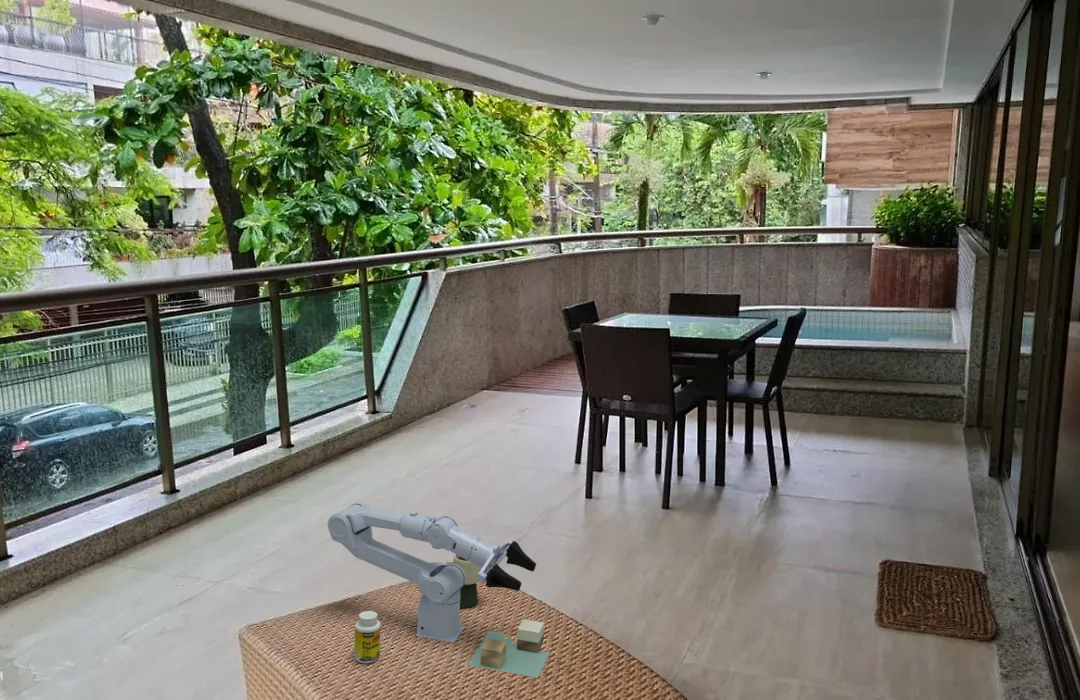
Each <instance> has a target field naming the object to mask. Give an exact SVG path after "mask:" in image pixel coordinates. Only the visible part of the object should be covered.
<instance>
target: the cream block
mask: <svg viewBox="0 0 1080 700" xmlns="http://www.w3.org/2000/svg"><path fill="white" fill-rule="evenodd" d="M543 633H545V622H542V621H537V620H529V619H522V621H521V623H520V625H519V627H518V628H517V635H516V636H517V639H519V640H524V641H530V642H536V643H539V641H540V639H541V637H542V635H543Z"/></svg>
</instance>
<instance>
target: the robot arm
mask: <svg viewBox="0 0 1080 700" xmlns="http://www.w3.org/2000/svg"><path fill="white" fill-rule="evenodd" d="M458 525H459V524H458V523H457V522H456V520H455V519H453V518H452V517H449V516H448V515H443V516H441V517H439V518H436V516H434V515H431V516H428V515H427V516H426V515H422V514H418V511H414V510H413V511H411V512H407V513H406V514H404V515H399V514H397V513H392V512H388V511H385V510H382V509H378V508H374V507H372V506H371V505H370V504H366V503H365V504H363V503H359V502H356V503H355V502H354V503H352V504H351V505H350V506H348V507H347V508H344V509H343V510H340V511H339V512H337V513H334V514H332V515H331V516H330V517H329V519H328V522H327V529H328V531H329V533H330V536H331V539H332V540H333V541H334V542H337V543H339V544H341V545H342V546H344V548H345V549H346V550H347V551H348V552H349V553H350V554H351V555H352V556H353V557H355V558H357V559H359V560H361V561H363V562H366V563H367V564H370V565H373V566H375V567H377V568H380V569H382V570H385V571H386V572H388V573H391V574H394V575H396V576H398V577H401V578H403V579H405V580H408V581H410V582H412V583H414V584H417V589H418V592H419V593H420V594H422V595H421V598H420V599H419V602H418V606H417V622H416V623H417V627H416V628H417V630H416V632H417V633H416V634H415V637H419V638H424V639H425V638H426V639H430V640H435V641H441V642H446V643H452V644H454V643H455V642H456V641H457V639H458V638H459V636H460V635H461V634H462V633H463V631H464V630H465V626H464V625H460V614H461V613H460V611H461V607H460V588H461V587H463V585H464V584H465V580H466V577H465V573H464V571H463V569H462V568H461V567H460V566H458V565H456V564H446V563H444V562H442V561H437V562H427V561H426V560H424V559H421V558H419V557H416V556H414V555H411V554H409V553H407V552H405V551H402V550H400V549H397V548H396V547H392V546H390V545H388V544H386V543H383V542H381V541H378V540H376V539H374V537H373V527H374V528H380V529H387V530H392V531H393V530H394V531H398V532H399V533H400V534H401V536H402V538H403V537H404V538H407V539H411V540H412V539H413V540H416V541H421V542H424V543H429V544H430V545H431V548H432V549H434V550H442V549H444V550H446V551H448V552H451V553H453V554H457V555H458V556H460V557H462V558H464V559H466V560H468V561H470V562H472V563H474V564H475V565H477V566H479V567H481V570H480V571H479V573H478V575H477V579H476V580H477V581H478V582H479V583H481V584H485V586H486V587H487V588H502V589H503V588H504V589H509V590H513V591H515V592H516V591H517V592H519V591H520V589H521V587H522V582H521V581H520V580H519V579H517V578H516V577H514V576H513V575H510V574H509V573H508V572H506V571H505V570H504V569H503V568H502V567H500V565H499V564H500V563H501V562H502V561H503V560H504V558H505V557H506V558H507V559H506V564H508V565H514V566H518V567H520V568H522V569H525V570H527V571H529V572H534V571H535V569H536V565H537V563H536V562H535V561H534V560H533V559H531V558H530V556H528V555H527V554H526V553H525V552H524V550H523V549H522V548H521V546H520V545H519V543H518V541H516V540H511V539H509V538H506V539H505V540H504V541H503V542H502V543H501V544H498V543H497V544H496V545H494V544H493V543H491V542H489V541H487V540H485V539H483V538H481V537H479V536H477V535H475V534H473V533H471V532H469V531H468V530H465V528H464V529H463V528H461V527H459V526H458Z"/></svg>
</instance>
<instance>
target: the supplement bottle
mask: <svg viewBox="0 0 1080 700" xmlns="http://www.w3.org/2000/svg"><path fill="white" fill-rule="evenodd" d="M381 624H382V623H381V622H380V620H378V613H377V612H376V611H373V610H365V611H362V612H360V613H359V614H358V620H357V622H355V625H354V644H353V645H354V646H353V648H354V651H353V652H354V654H353V657H354V660H355V661H357V662H358V663H361V664H371V663H374V662H376V661H377V660H379V658H380V656H381V655H380V653H381V629H382V626H381Z"/></svg>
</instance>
